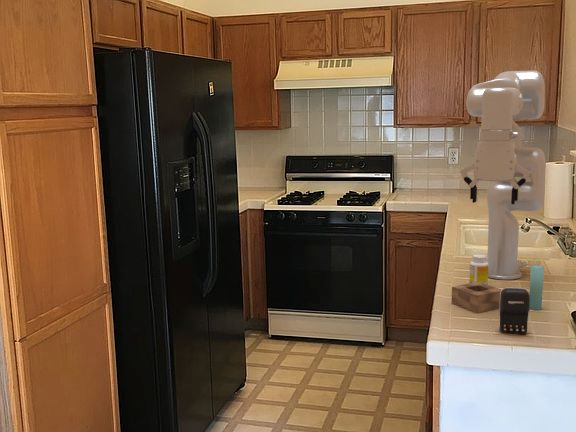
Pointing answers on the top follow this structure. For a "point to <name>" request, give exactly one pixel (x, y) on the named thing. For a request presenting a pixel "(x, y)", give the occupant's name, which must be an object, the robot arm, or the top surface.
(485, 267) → the supplement bottle
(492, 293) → the socket block
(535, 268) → the dowel
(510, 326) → the battery charger
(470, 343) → the top surface
